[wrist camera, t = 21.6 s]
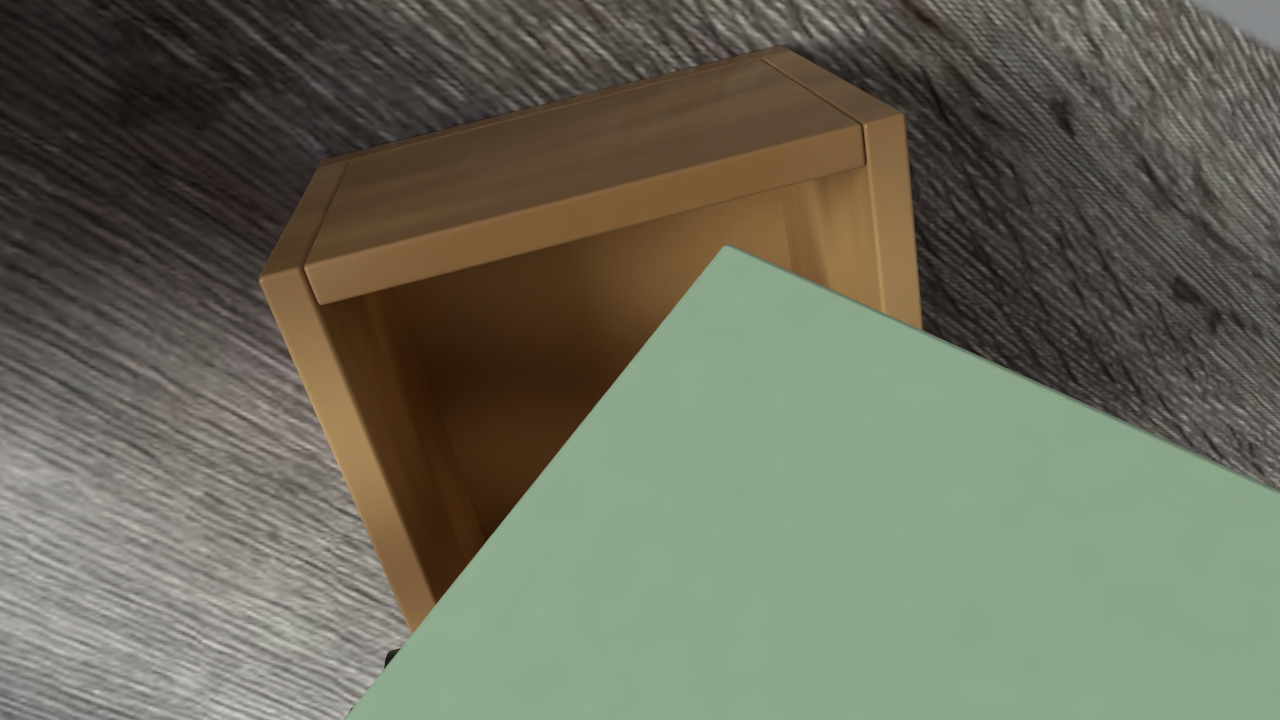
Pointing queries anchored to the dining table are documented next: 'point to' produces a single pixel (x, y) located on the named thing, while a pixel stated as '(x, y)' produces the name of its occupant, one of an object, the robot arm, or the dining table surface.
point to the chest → (560, 274)
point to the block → (852, 543)
